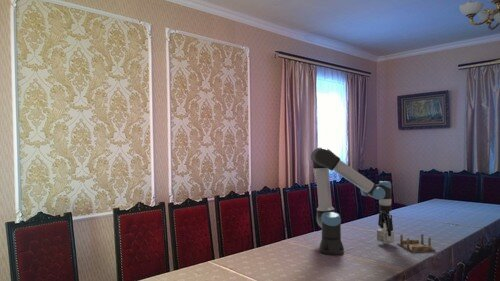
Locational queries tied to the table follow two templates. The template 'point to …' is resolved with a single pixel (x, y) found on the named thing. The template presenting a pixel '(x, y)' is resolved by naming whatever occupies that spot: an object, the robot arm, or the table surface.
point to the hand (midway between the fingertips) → (385, 238)
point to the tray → (415, 245)
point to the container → (384, 234)
